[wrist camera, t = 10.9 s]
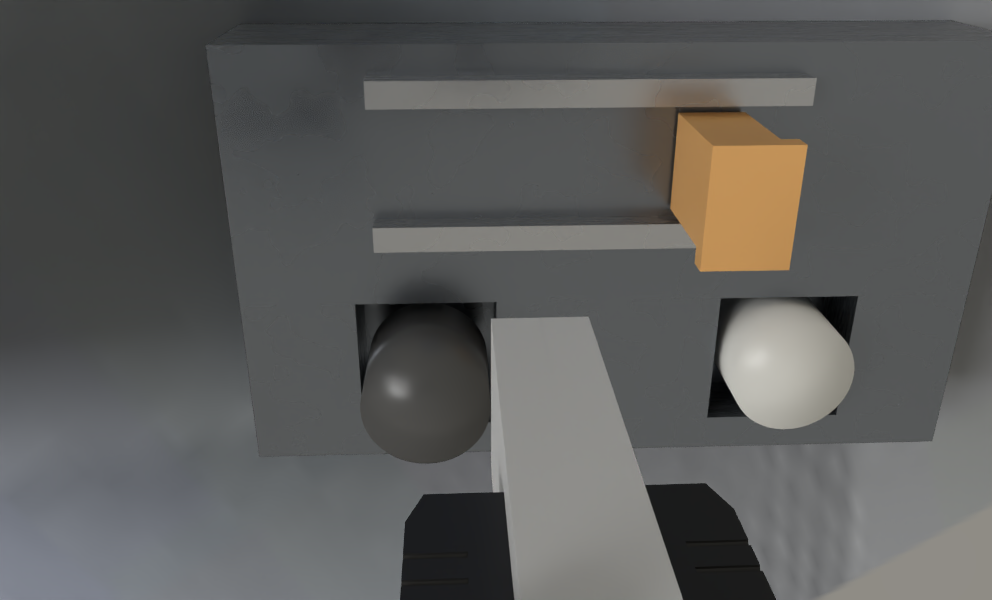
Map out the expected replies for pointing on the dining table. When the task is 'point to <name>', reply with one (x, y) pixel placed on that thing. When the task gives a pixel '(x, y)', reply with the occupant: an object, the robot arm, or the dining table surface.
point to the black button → (426, 384)
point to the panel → (595, 205)
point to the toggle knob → (736, 191)
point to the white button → (782, 360)
